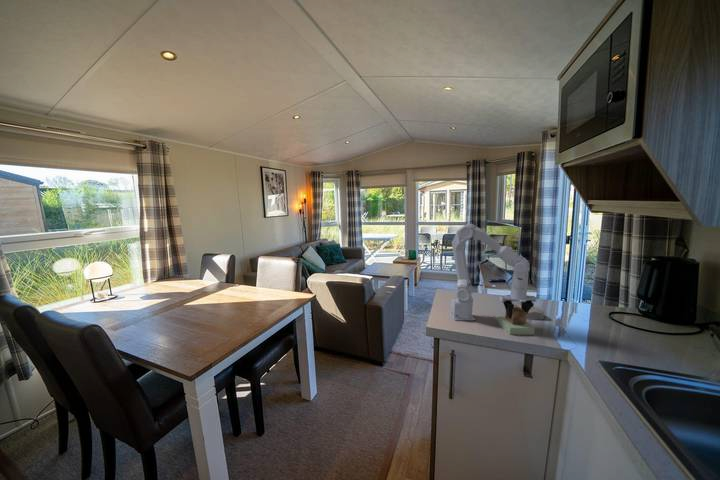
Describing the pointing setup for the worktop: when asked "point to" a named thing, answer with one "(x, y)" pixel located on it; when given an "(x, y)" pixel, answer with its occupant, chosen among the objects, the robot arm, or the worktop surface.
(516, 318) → the walnut block
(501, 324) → the base block
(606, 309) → the worktop surface
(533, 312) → the stone block
